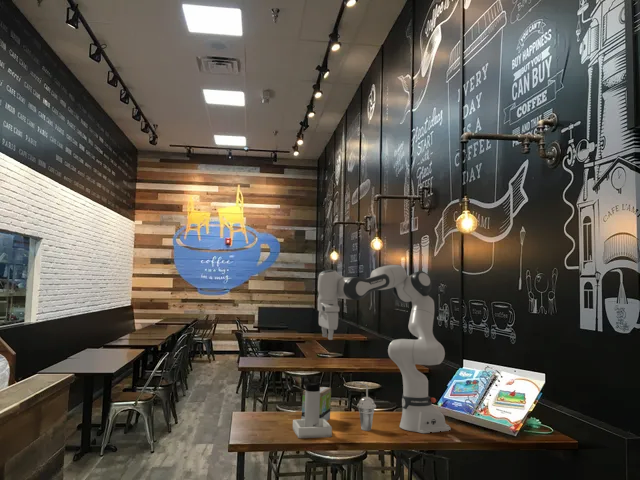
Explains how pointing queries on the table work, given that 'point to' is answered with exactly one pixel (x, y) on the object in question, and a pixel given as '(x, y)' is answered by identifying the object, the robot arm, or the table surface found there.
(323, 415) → the tea box
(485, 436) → the table surface
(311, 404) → the travel mug
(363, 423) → the cup with straw
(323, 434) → the tray
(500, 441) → the table surface
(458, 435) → the table surface
